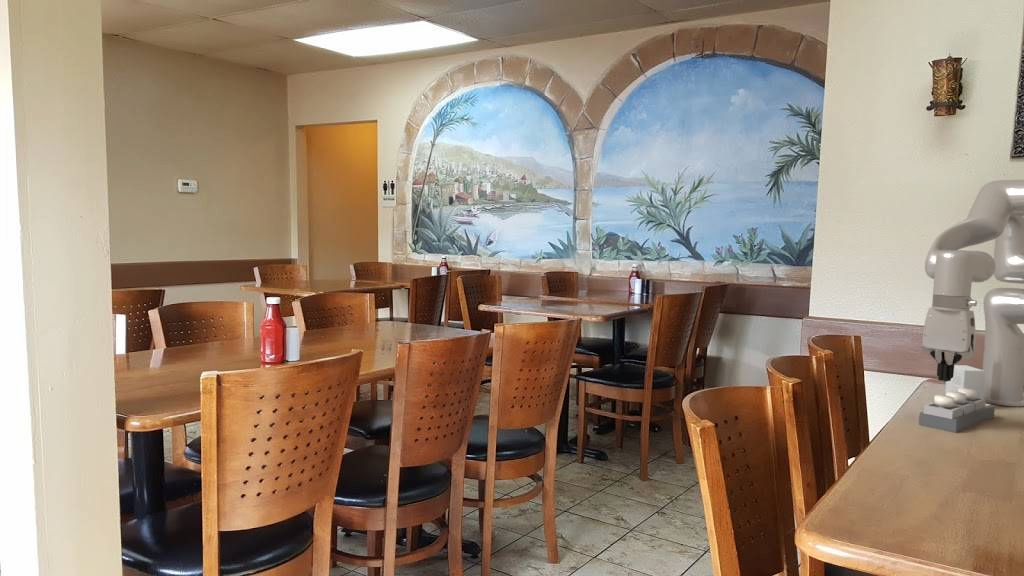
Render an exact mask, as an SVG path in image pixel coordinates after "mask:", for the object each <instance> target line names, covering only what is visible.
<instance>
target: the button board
mask: <svg viewBox="0 0 1024 576" xmlns="http://www.w3.org/2000/svg"><path fill="white" fill-rule="evenodd" d="M985 401H986V399H981V398H976V399H975V400H970V399H966V400H965V403H954V407H941V406H936V405H934V401H933V402H930V403H927V404H923V410H922V411H920V412H919V418H918V425H919V426H922V427H927V428H933V429H937V430H941V431H942V430H943V431H947V432H951V433H955V434H956V433H958V432H961V431H963V430H967V429H968V428H971V427H973V426H976V425H979V424H981V423H984V422H986V421H989V420H991V419H994V418H995V412H996V411H995V409H996V406H995V405H994V404H991V403H986V402H985Z"/></svg>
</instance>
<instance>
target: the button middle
mask: <svg viewBox="0 0 1024 576" xmlns="http://www.w3.org/2000/svg"><path fill="white" fill-rule="evenodd" d="M946 396H950V397H953V398H954V403H965V400H966V394H964V393H961V392H952V391H949V392H947V393H946Z"/></svg>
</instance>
